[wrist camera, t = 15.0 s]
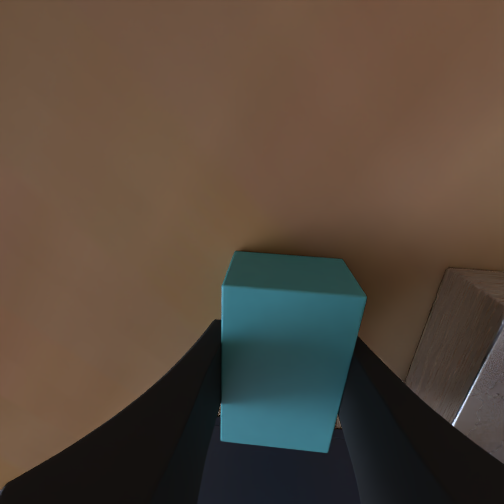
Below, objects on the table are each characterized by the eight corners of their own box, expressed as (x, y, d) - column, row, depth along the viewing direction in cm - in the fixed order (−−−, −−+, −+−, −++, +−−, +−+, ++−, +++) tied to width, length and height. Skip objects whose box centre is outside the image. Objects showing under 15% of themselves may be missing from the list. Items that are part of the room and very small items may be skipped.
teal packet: (230, 382, 13) (220, 442, 10) (234, 250, 10) (221, 285, 7) (316, 390, 12) (328, 453, 10) (343, 258, 10) (368, 296, 7)
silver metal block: (397, 400, 12) (431, 467, 10) (446, 266, 10) (511, 308, 7) (489, 409, 12) (549, 480, 9) (564, 275, 9) (676, 322, 7)
